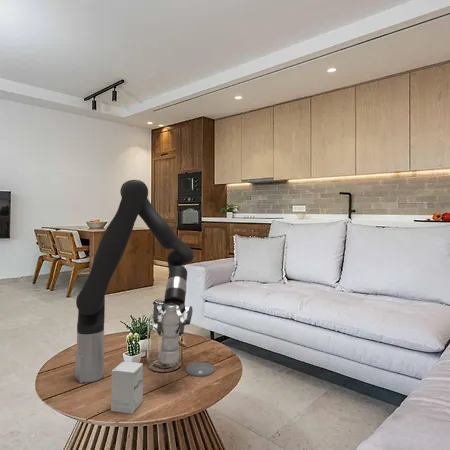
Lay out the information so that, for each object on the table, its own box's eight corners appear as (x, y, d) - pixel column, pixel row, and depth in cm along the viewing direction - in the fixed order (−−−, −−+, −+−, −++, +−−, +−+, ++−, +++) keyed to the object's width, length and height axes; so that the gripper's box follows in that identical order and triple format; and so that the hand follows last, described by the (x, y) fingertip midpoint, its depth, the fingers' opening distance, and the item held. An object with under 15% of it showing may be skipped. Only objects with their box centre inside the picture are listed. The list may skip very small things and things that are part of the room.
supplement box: (133, 414, 106) (133, 372, 106) (110, 411, 108) (110, 370, 107) (143, 401, 114) (143, 362, 113) (122, 399, 115) (122, 360, 115)
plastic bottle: (157, 360, 123) (159, 303, 123) (176, 358, 126) (178, 302, 125) (161, 368, 117) (163, 308, 117) (181, 365, 120) (183, 306, 119)
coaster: (196, 379, 129) (196, 377, 129) (180, 369, 138) (180, 367, 138) (220, 371, 137) (220, 369, 137) (203, 361, 145) (203, 360, 145)
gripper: (155, 285, 128) (147, 328, 117) (194, 287, 128) (190, 330, 117) (157, 297, 134) (149, 339, 122) (195, 298, 134) (191, 340, 122)
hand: (169, 334), depth 120 cm, fingers closed on plastic bottle, 6 cm apart
